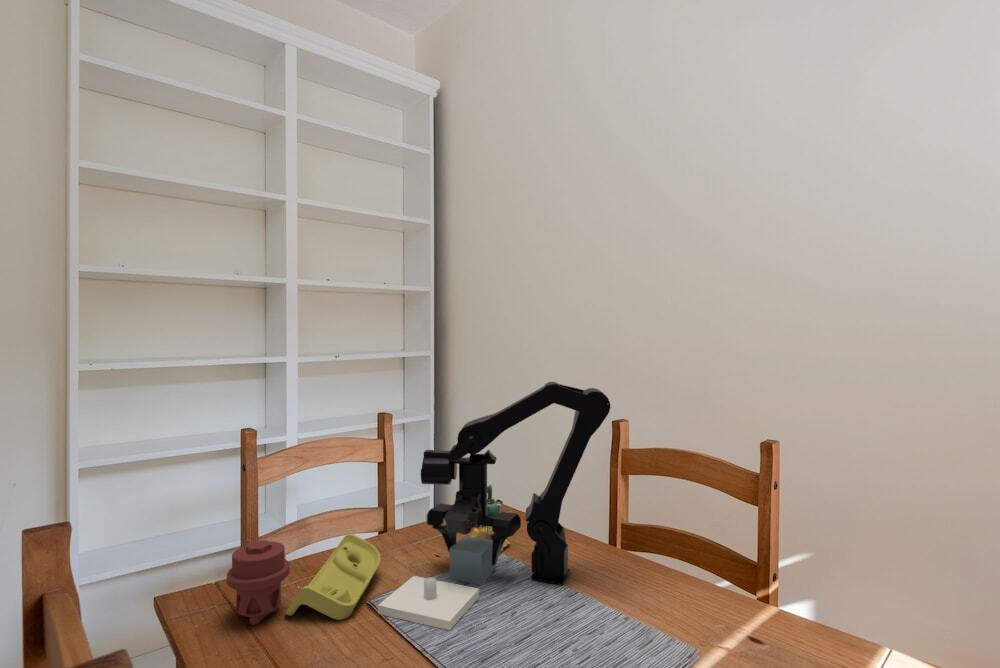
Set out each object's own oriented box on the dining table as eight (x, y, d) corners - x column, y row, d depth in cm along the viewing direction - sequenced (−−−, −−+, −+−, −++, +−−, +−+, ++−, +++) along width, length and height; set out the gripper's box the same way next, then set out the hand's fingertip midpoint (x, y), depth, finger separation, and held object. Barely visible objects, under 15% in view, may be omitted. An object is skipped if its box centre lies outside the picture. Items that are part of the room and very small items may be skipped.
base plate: (479, 596, 99) (479, 572, 99) (449, 630, 88) (449, 603, 88) (413, 583, 105) (413, 560, 105) (378, 613, 93) (378, 588, 93)
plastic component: (351, 610, 90) (297, 582, 91) (333, 647, 91) (280, 619, 92) (387, 551, 111) (343, 529, 111) (372, 582, 111) (328, 560, 112)
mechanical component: (295, 598, 99) (282, 628, 89) (237, 603, 97) (218, 633, 87) (295, 531, 99) (282, 554, 89) (237, 535, 97) (217, 558, 87)
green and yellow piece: (511, 529, 133) (512, 472, 132) (508, 569, 116) (509, 504, 114) (473, 528, 134) (473, 471, 132) (464, 567, 116) (464, 502, 114)
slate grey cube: (495, 569, 111) (495, 540, 111) (481, 584, 104) (481, 553, 104) (464, 564, 113) (464, 535, 113) (449, 578, 107) (449, 548, 107)
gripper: (412, 490, 105) (412, 570, 105) (501, 501, 98) (501, 587, 98) (439, 476, 115) (439, 548, 115) (521, 485, 108) (521, 562, 108)
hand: (473, 561), depth 109 cm, fingers open, 9 cm apart
